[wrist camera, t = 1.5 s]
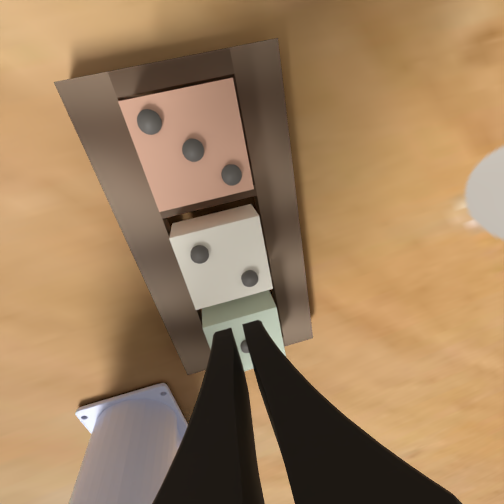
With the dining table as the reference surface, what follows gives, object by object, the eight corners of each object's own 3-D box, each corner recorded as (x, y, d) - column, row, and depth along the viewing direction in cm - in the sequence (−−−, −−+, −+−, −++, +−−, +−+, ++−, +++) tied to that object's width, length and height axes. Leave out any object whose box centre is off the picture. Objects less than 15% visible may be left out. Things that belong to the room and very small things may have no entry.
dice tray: (306, 325, 25) (312, 337, 23) (188, 360, 24) (187, 375, 22) (270, 45, 15) (277, 38, 14) (68, 86, 14) (53, 82, 13)
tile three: (246, 180, 16) (255, 190, 14) (163, 199, 16) (158, 214, 13) (227, 84, 14) (233, 76, 11) (130, 104, 13) (116, 101, 11)
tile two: (264, 270, 19) (274, 291, 17) (195, 288, 19) (195, 313, 16) (251, 203, 17) (260, 217, 14) (172, 223, 16) (168, 240, 14)
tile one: (277, 335, 22) (287, 361, 20) (218, 353, 22) (221, 381, 19) (267, 287, 20) (277, 309, 17) (201, 305, 19) (202, 331, 17)
